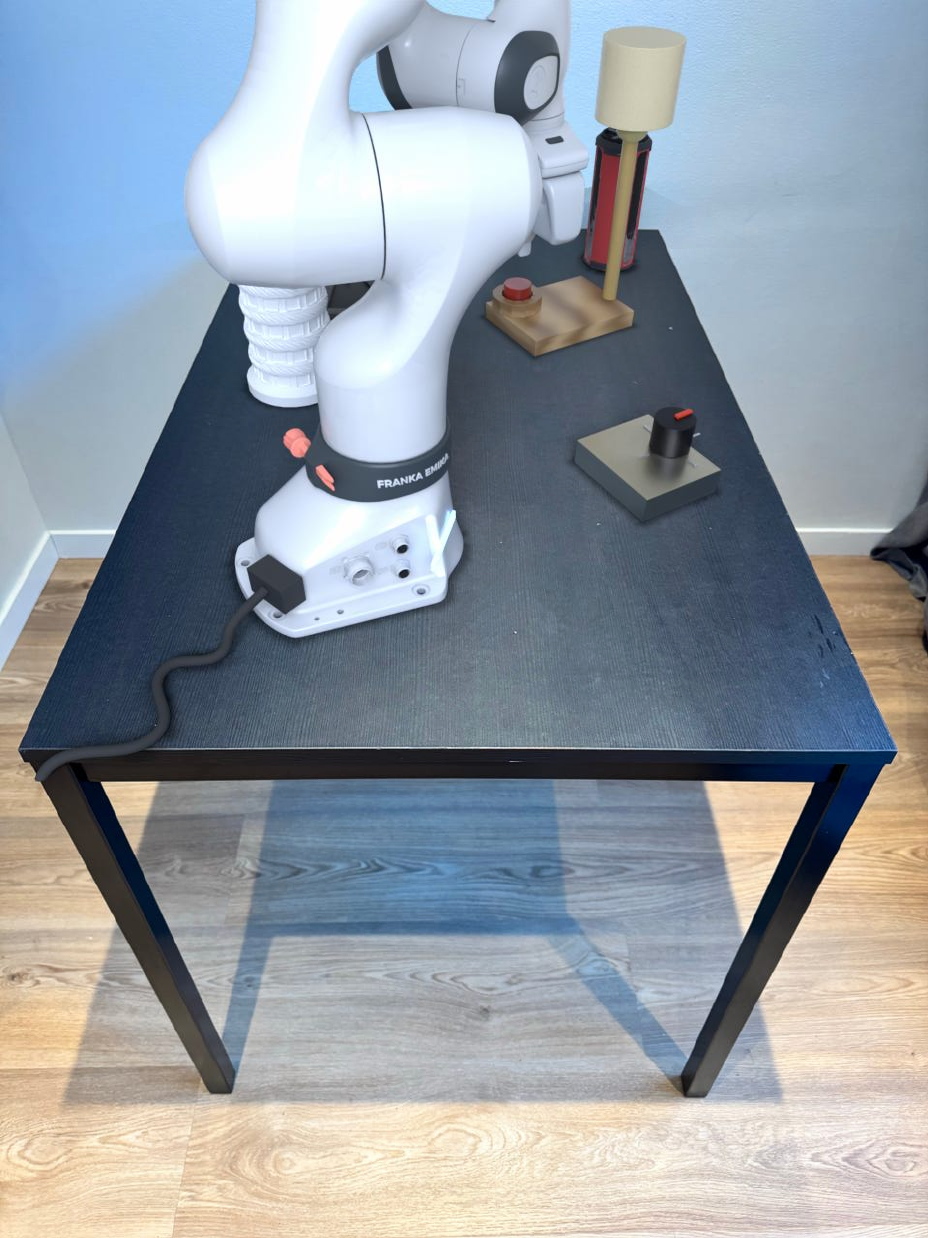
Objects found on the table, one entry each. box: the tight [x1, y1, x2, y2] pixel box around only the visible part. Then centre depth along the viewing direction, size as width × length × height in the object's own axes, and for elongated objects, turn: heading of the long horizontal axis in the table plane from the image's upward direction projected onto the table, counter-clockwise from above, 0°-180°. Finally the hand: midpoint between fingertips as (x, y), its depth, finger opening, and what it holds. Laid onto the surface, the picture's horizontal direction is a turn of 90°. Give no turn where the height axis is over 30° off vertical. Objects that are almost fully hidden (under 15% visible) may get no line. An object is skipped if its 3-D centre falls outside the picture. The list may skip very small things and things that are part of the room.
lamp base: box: [485, 275, 635, 357], centre depth 118 cm, size 16×12×4 cm
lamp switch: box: [503, 276, 532, 301], centre depth 116 cm, size 4×4×2 cm
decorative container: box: [236, 284, 331, 408], centre depth 102 cm, size 12×12×18 cm
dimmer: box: [574, 413, 722, 523], centre depth 95 cm, size 12×12×3 cm
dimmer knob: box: [649, 406, 698, 458], centre depth 93 cm, size 4×4×4 cm
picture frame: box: [325, 280, 375, 321], centre depth 124 cm, size 16×2×21 cm
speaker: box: [582, 127, 653, 272], centre depth 126 cm, size 8×8×18 cm
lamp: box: [594, 25, 688, 300], centre depth 106 cm, size 9×9×30 cm
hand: (518, 251), depth 113 cm, fingers closed
